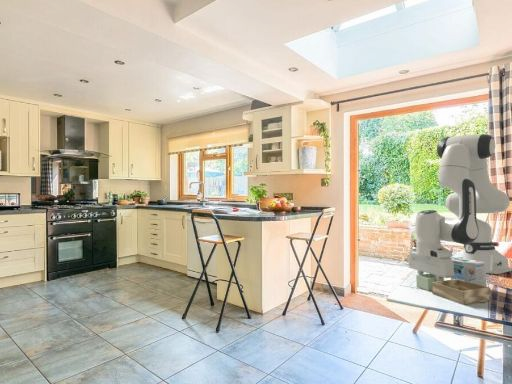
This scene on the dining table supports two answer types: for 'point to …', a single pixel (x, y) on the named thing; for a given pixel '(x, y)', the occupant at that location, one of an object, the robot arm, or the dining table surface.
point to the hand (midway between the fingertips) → (430, 283)
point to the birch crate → (461, 291)
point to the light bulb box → (470, 271)
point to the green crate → (426, 281)
